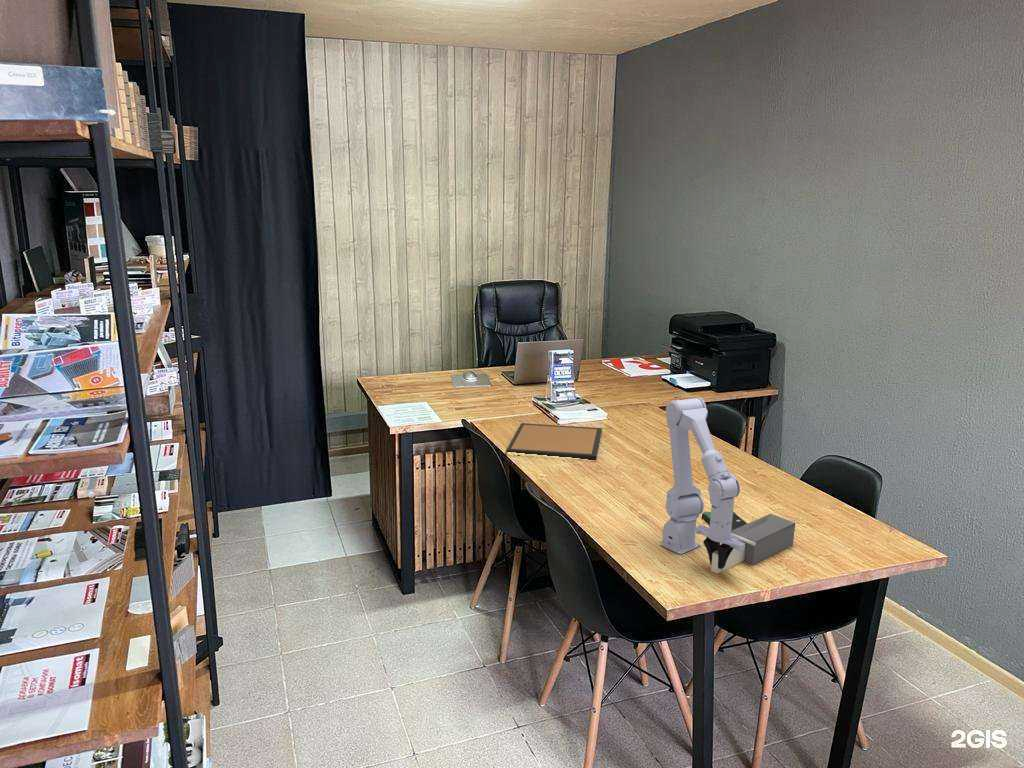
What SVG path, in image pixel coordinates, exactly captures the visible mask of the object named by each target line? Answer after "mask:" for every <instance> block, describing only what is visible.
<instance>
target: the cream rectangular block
mask: <svg viewBox="0 0 1024 768" xmlns="http://www.w3.org/2000/svg"><path fill="white" fill-rule="evenodd" d="M739 541H741V540H739ZM741 542H743V543H745V548H744V550H743V551H741V552H739V551H737V549H735V548H734V549H733V550H732V552H731V553H730V555H729V557H728V559H727V561H726V564H725V567H724V568H721V569H719V568H718V551H715V552H713V554H712V565H711V568H710V569H711V570H710V571H711V572H713V573H715V574H719V573H721V572H724V571H725V570H727V569H730V568H732V567H734V566H735V565H738V564H739V563H742V562H744V561H745V558H746V548H747V543H746V542H744V541H741Z"/></svg>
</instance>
